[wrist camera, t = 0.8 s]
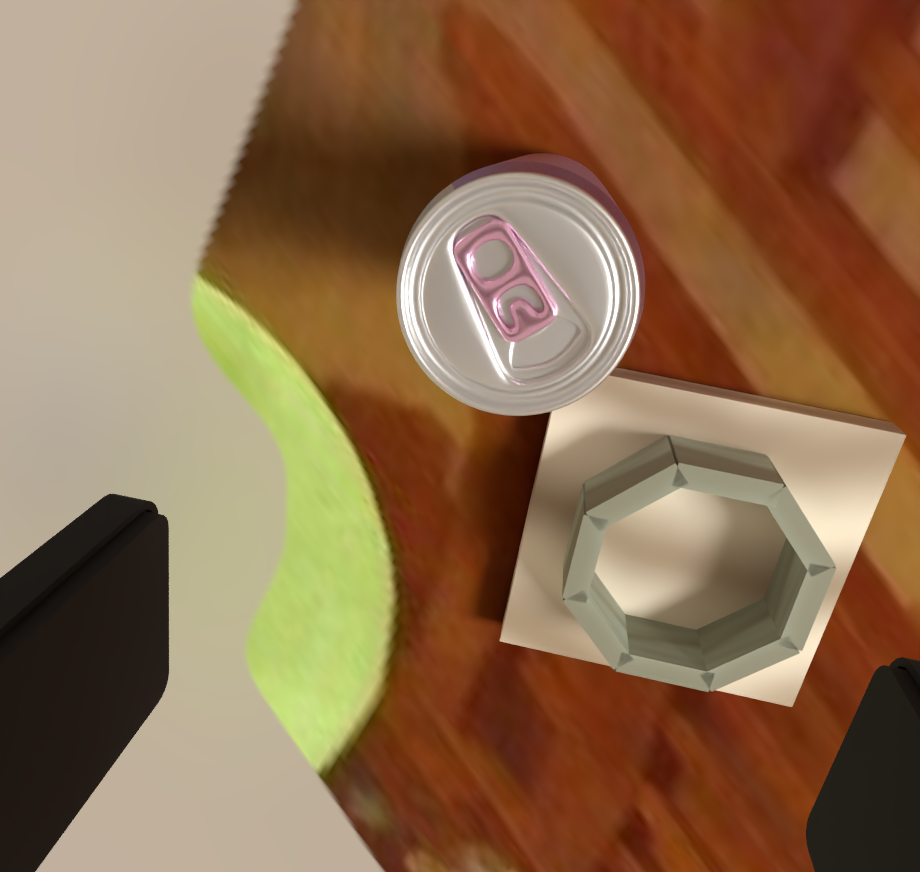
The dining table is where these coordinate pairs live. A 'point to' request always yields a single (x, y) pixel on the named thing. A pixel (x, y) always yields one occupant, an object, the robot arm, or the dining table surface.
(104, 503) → the robot arm
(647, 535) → the can holder
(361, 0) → the dining table surface
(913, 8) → the dining table surface
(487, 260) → the beverage can
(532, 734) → the dining table surface
